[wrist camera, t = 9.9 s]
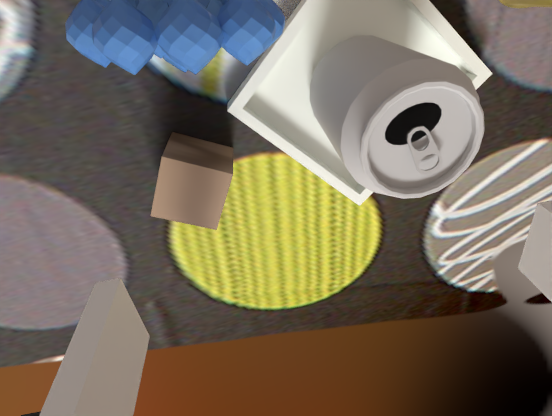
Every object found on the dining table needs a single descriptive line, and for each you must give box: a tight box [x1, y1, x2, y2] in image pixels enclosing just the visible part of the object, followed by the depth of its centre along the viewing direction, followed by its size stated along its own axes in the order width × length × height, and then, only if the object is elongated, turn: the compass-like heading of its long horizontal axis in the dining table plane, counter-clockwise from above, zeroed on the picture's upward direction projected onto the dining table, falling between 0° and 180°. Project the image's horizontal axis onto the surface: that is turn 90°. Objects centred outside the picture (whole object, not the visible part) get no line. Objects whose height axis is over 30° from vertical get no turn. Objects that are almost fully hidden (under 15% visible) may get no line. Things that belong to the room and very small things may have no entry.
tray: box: [227, 0, 492, 206], centre depth 28 cm, size 14×14×2 cm
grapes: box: [66, 0, 285, 75], centre depth 20 cm, size 12×7×12 cm, turn 92°
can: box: [310, 35, 484, 199], centre depth 23 cm, size 8×8×12 cm
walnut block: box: [151, 132, 233, 230], centre depth 29 cm, size 5×5×5 cm
